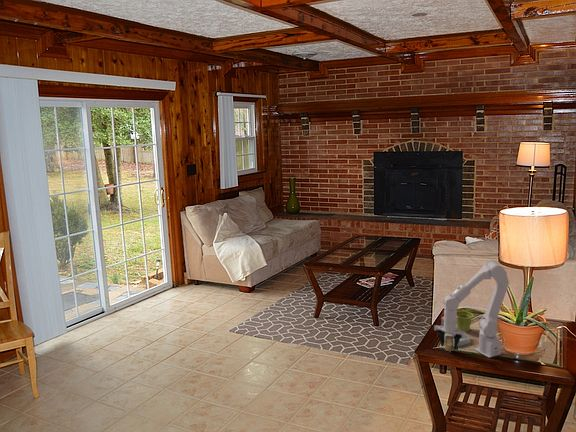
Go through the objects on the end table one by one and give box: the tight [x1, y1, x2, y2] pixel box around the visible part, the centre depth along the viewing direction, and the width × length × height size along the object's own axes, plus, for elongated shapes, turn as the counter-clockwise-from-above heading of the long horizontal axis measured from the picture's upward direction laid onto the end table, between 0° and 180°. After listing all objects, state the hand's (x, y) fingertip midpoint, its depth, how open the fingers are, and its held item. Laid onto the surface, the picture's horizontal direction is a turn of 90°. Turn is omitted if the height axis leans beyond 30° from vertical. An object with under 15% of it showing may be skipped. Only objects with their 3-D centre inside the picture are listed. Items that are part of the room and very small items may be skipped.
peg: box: [444, 336, 454, 353], centre depth 248 cm, size 4×4×7 cm
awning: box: [440, 316, 458, 326], centre depth 264 cm, size 4×7×10 cm, turn 115°
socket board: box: [444, 332, 472, 348], centre depth 259 cm, size 11×10×2 cm
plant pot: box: [456, 310, 474, 333], centre depth 271 cm, size 9×9×9 cm
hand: (449, 346), depth 248 cm, fingers open, 6 cm apart
